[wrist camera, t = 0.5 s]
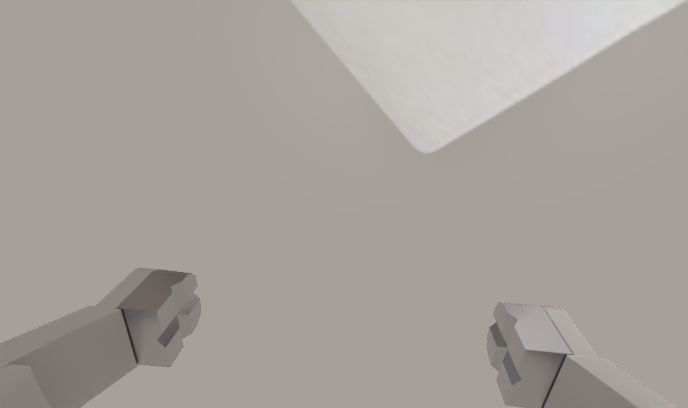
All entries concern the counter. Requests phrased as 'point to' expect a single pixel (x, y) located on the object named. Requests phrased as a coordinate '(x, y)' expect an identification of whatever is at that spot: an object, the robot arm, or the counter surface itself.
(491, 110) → the counter surface
